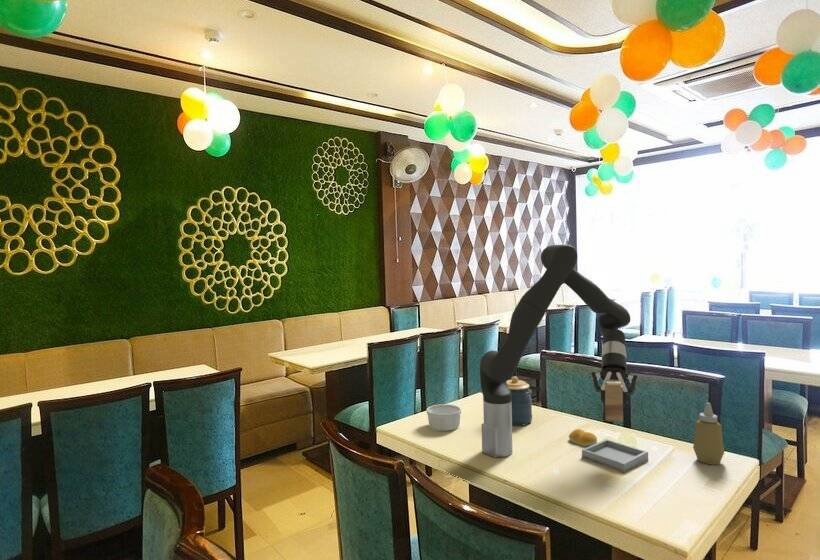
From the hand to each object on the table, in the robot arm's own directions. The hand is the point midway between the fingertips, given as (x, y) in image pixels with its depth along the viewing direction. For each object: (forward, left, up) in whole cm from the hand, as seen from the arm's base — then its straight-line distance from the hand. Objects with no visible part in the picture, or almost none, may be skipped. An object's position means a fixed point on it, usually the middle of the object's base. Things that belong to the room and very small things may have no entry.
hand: (614, 403), depth 145 cm
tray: (+2, +1, -18) cm, 18 cm away
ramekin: (-20, +58, -18) cm, 64 cm away
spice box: (+2, +1, -5) cm, 6 cm away
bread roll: (+7, +16, -18) cm, 25 cm away
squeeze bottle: (+22, -18, -18) cm, 34 cm away
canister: (+6, +45, -18) cm, 49 cm away
